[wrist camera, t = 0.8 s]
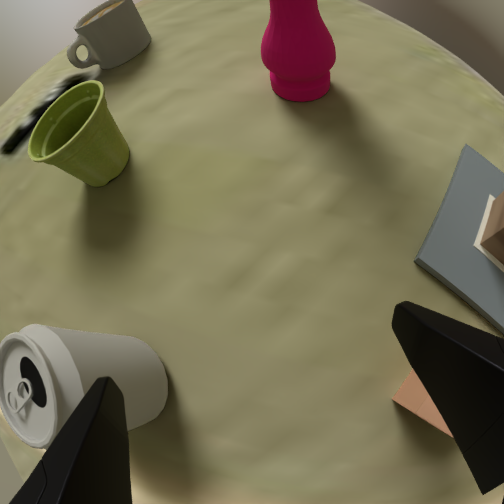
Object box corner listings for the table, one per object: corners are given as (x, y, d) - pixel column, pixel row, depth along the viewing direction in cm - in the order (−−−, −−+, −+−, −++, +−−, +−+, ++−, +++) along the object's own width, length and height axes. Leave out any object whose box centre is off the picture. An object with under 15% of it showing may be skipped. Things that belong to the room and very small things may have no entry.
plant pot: (156, 127, 28) (120, 72, 20) (124, 205, 26) (68, 157, 18) (97, 132, 30) (58, 89, 22) (65, 199, 28) (15, 163, 20)
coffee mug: (140, 31, 38) (119, -7, 29) (160, 41, 35) (137, -5, 26) (80, 72, 38) (53, 37, 28) (90, 89, 34) (58, 47, 25)
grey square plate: (550, 228, 17) (555, 225, 16) (518, 348, 16) (525, 348, 14) (462, 149, 22) (466, 143, 21) (413, 261, 20) (418, 257, 19)
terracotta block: (468, 372, 16) (503, 376, 12) (434, 426, 16) (463, 443, 11) (428, 342, 18) (460, 341, 13) (391, 398, 17) (415, 413, 13)
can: (191, 388, 20) (87, 423, 8) (135, 437, 19) (30, 478, 8) (134, 317, 22) (19, 289, 11) (86, 369, 21) (-23, 367, 10)
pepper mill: (328, 111, 25) (324, -88, 6) (258, 100, 27) (211, -81, 8) (338, 71, 27) (336, -90, 8) (277, 62, 28) (247, -89, 10)
